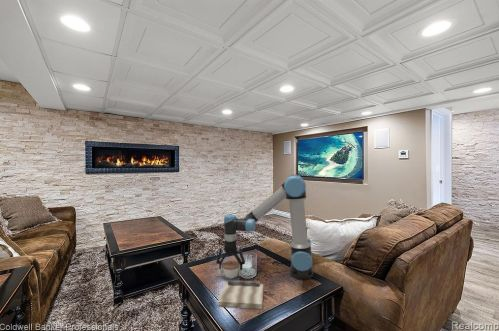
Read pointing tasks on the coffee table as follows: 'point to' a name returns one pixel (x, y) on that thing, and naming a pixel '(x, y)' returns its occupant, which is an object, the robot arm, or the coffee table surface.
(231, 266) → the lidded jar
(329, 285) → the coffee table surface
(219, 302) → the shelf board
